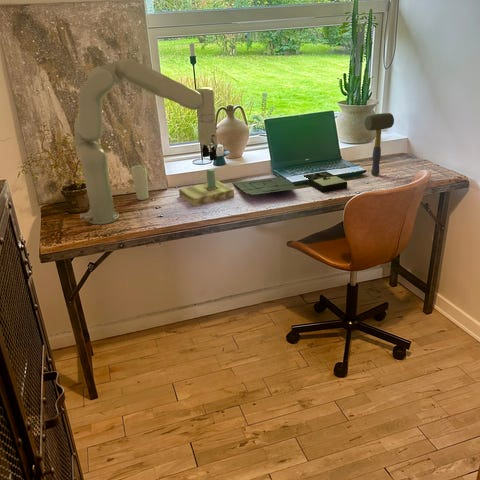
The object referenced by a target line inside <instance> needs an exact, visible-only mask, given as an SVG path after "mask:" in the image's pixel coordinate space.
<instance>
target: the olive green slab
mask: <svg viewBox="0 0 480 480" xmlns="http://www.w3.org/2000/svg"><path fill="white" fill-rule="evenodd" d="M215 185H216V189H215V190H208V183H207V182H205V183H200V184H196V185H192V186H188V187H184V188H179V189H178V193H179V197H180V198H181V199H183V200H184V201H186V202H187V203H188V204H190V205H191V206H193V207H198V206H202V205H206V204H211V203H214V202H218V201H222V200H226V199H231V198H235V189H233V188H232V187H230V186H228V185H226V184H224V183H222V182H221V181H219V180H215Z"/></svg>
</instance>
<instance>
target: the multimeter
mask: <svg viewBox="0 0 480 480" xmlns="http://www.w3.org/2000/svg"><path fill="white" fill-rule="evenodd" d="M303 176H304V177H306V178H308V179H309V185H308V186H310V187H311V188H313V189H315V190H317V191H319V192H320V193H322V194H326V193H331V192H335V191H336V190H337V191H341V190H346V189H348V182H347V181H346V180H344V179H343V178H340V177H338V176H336V175H335V174H333V173H331V172H329V171H327V170H326V171H321V172H320V171H319V172H313V173H310V174H309V173H308V174H303ZM330 191H331V192H330ZM325 192H326V193H325Z"/></svg>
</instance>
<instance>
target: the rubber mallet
mask: <svg viewBox="0 0 480 480" xmlns="http://www.w3.org/2000/svg"><path fill="white" fill-rule="evenodd" d="M394 124H395V118H394V115H393V114H392V113H390V112H386V113H385V112H384V113H374V114H369V115H367V116H366V117H365V119H364V128H365V129H366V130H367V131H375V137H374V139H375V140H374V147H373V150H372V165H371V166H372V167H371V171H370V173H371V175H372V176H373V177H374V176H375V177H378V176H379V174H380V172H381V171H380V162H381V156H382V155H381V154H382V148H381V141H382V139H381V138H382V130H386V129H391V128H392V127H393V126H394Z"/></svg>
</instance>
